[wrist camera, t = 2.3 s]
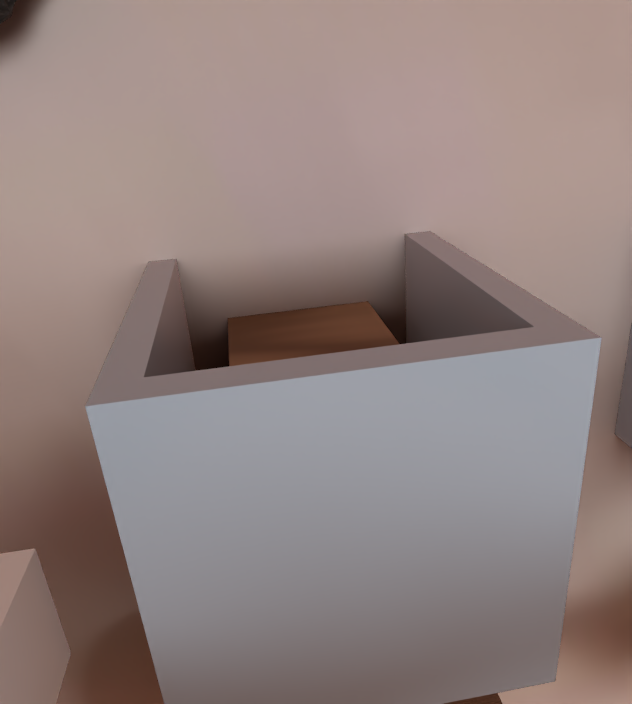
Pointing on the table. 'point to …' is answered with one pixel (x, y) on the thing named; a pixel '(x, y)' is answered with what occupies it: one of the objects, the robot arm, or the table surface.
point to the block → (306, 333)
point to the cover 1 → (352, 496)
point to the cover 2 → (626, 401)
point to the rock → (6, 9)
